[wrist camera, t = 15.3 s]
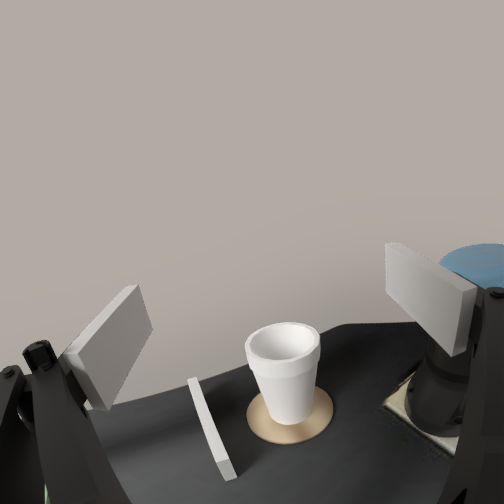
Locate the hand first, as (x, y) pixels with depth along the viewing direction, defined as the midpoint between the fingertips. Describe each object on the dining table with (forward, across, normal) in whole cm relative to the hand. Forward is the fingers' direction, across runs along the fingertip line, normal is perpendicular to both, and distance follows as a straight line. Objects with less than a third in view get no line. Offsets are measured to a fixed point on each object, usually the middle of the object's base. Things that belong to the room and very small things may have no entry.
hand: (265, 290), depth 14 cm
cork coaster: (+17, +1, -28) cm, 33 cm away
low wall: (+14, -11, -28) cm, 33 cm away
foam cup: (+17, +1, -28) cm, 33 cm away
